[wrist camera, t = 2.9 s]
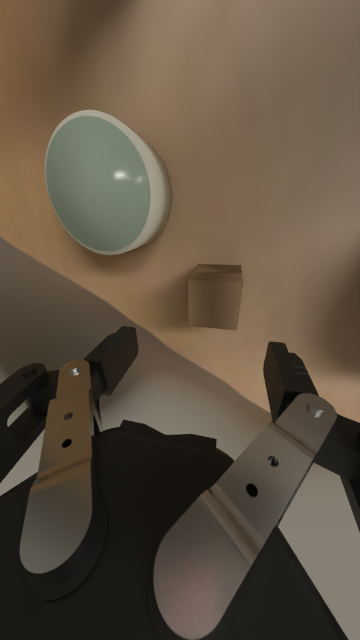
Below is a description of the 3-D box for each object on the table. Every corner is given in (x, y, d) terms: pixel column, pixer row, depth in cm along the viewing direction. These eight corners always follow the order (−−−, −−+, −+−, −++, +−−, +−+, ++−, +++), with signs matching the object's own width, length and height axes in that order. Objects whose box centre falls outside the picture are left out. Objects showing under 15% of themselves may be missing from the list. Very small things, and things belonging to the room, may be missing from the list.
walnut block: (240, 265, 21) (242, 282, 16) (236, 304, 23) (236, 330, 18) (198, 264, 22) (187, 279, 17) (198, 301, 24) (188, 325, 19)
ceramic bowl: (169, 126, 17) (146, 96, 13) (174, 247, 22) (158, 256, 18) (72, 140, 20) (23, 118, 15) (95, 247, 24) (63, 255, 20)
